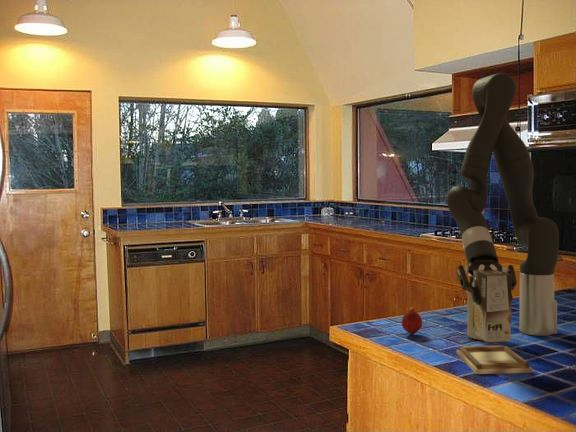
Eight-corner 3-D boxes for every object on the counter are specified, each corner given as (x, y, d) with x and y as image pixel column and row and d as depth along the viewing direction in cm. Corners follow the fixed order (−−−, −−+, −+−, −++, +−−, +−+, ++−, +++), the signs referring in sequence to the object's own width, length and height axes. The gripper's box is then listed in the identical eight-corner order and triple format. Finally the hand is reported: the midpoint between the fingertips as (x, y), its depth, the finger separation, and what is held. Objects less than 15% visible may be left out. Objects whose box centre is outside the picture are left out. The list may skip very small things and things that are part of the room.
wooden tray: (506, 352, 158) (506, 344, 158) (532, 372, 142) (532, 364, 142) (456, 353, 158) (456, 346, 158) (476, 374, 142) (476, 365, 142)
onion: (422, 337, 173) (422, 310, 173) (401, 337, 174) (401, 309, 174) (422, 332, 179) (421, 305, 178) (402, 332, 180) (401, 305, 179)
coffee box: (512, 341, 145) (513, 274, 144) (485, 342, 145) (487, 275, 143) (495, 331, 154) (496, 268, 153) (470, 332, 154) (471, 269, 153)
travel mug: (461, 335, 175) (461, 273, 174) (483, 332, 178) (483, 270, 177) (480, 342, 168) (480, 277, 166) (503, 338, 171) (503, 274, 169)
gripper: (454, 239, 155) (467, 294, 144) (510, 238, 155) (528, 294, 144) (448, 257, 161) (460, 311, 150) (502, 256, 161) (519, 311, 150)
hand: (493, 302), depth 147 cm, fingers closed on coffee box, 6 cm apart
